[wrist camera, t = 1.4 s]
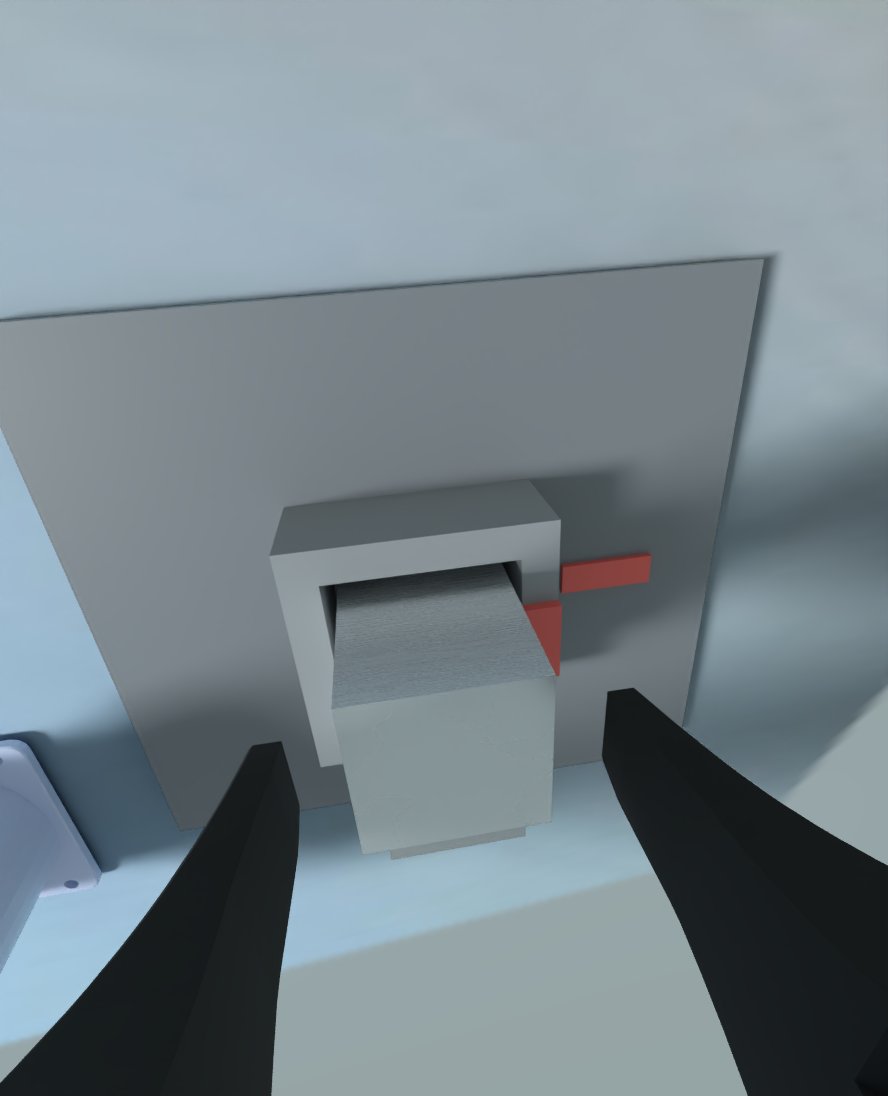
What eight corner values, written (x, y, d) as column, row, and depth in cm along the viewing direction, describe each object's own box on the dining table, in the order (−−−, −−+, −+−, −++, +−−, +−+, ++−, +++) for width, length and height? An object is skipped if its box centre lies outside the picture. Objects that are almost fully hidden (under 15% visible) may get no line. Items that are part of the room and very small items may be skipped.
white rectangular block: (359, 673, 19) (362, 869, 13) (336, 543, 17) (326, 706, 11) (491, 654, 19) (554, 835, 13) (486, 524, 17) (559, 671, 11)
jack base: (186, 808, 22) (152, 921, 18) (-19, 322, 14) (-162, 344, 10) (666, 730, 24) (724, 817, 20) (741, 259, 16) (864, 258, 12)
